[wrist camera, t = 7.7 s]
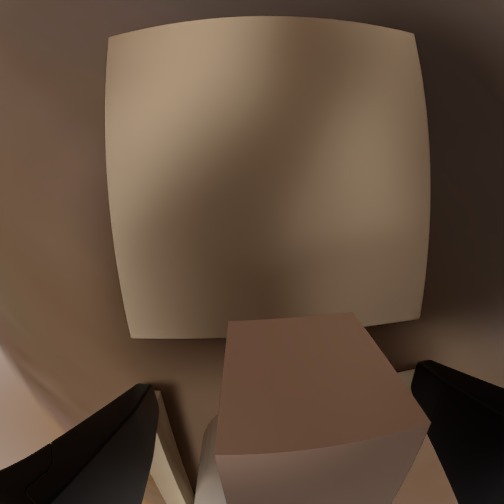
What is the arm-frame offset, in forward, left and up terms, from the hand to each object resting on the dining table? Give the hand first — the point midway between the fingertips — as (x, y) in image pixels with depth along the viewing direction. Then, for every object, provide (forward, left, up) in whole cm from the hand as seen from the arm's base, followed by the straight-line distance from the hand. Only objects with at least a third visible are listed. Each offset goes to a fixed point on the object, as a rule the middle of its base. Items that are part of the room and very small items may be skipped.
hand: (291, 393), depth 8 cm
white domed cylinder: (0, +3, -3) cm, 4 cm away
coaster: (0, -6, -3) cm, 6 cm away
